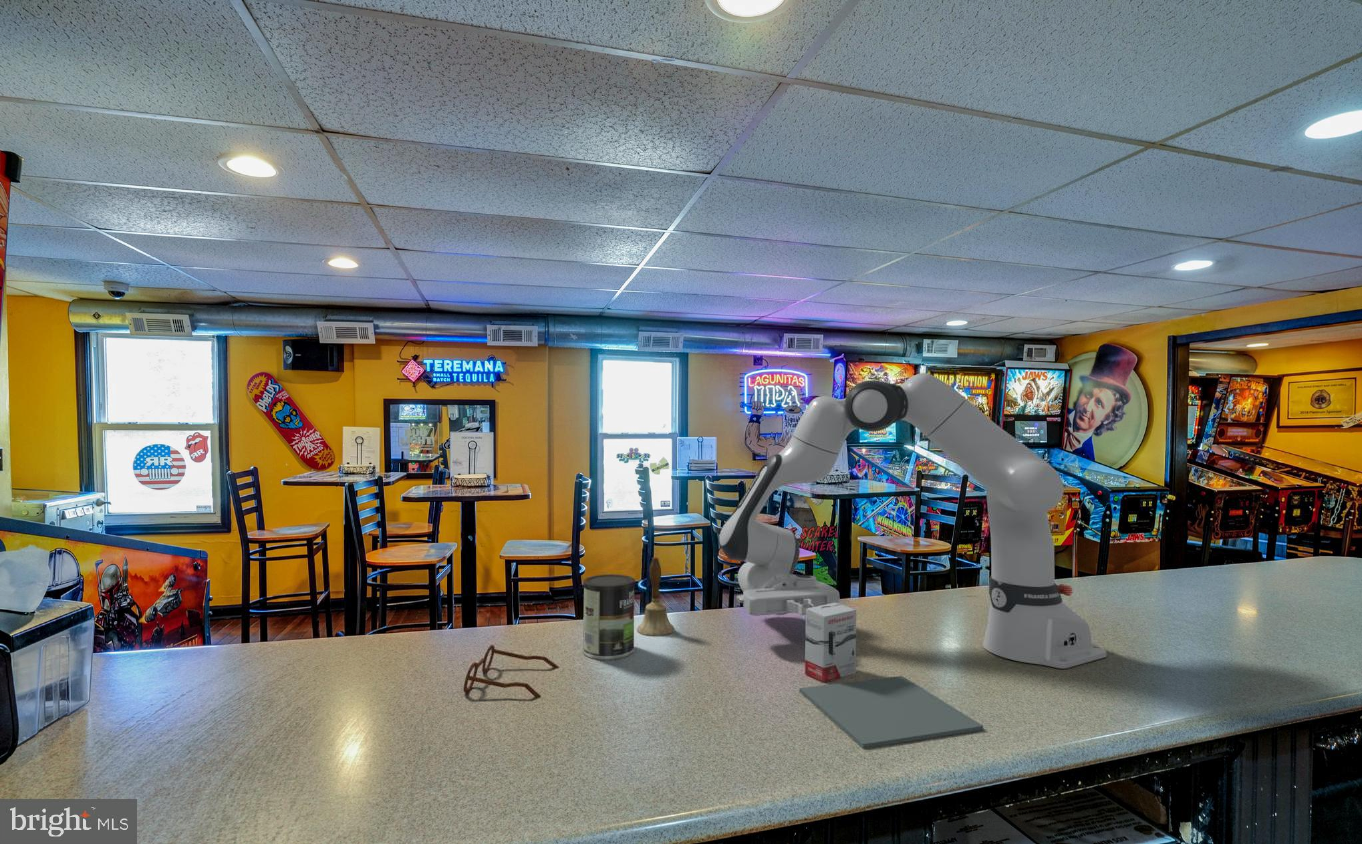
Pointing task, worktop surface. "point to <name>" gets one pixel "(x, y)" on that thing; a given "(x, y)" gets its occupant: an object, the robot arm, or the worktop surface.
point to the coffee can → (608, 616)
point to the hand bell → (655, 608)
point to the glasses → (495, 683)
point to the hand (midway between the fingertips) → (808, 610)
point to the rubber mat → (888, 711)
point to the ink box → (830, 642)
